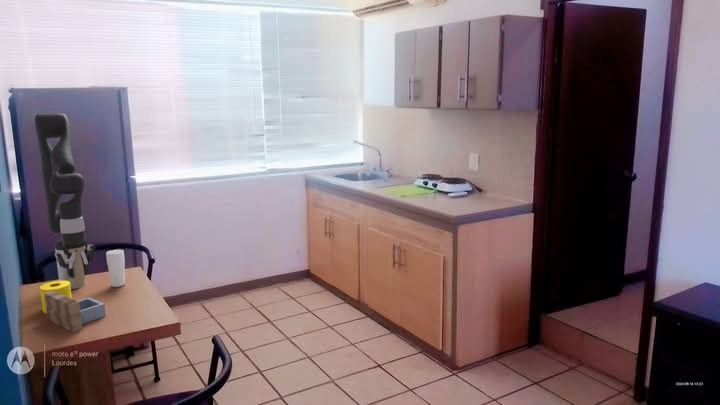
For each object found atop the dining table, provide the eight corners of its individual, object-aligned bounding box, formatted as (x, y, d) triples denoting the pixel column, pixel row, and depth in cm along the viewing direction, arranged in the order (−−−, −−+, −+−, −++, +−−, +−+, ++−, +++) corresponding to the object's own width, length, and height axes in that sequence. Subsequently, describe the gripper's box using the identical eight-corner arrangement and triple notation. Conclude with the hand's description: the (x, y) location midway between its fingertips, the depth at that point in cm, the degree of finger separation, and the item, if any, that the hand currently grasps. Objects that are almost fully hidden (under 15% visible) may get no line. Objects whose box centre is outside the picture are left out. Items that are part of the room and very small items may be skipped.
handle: (68, 286, 189) (63, 247, 186) (88, 283, 193) (83, 244, 190) (70, 290, 185) (66, 250, 182) (90, 286, 189) (86, 246, 186)
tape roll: (43, 315, 192) (39, 291, 191) (42, 306, 201) (39, 283, 199) (73, 310, 198) (70, 286, 196) (72, 301, 206) (69, 278, 204)
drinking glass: (106, 286, 222) (102, 252, 219) (119, 281, 228) (116, 248, 225) (116, 289, 219) (113, 254, 216) (130, 284, 225) (127, 250, 222)
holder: (60, 319, 190) (59, 306, 189) (90, 309, 198) (89, 297, 197) (75, 327, 184) (74, 313, 183) (105, 316, 192) (104, 303, 191)
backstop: (47, 319, 189) (44, 293, 187) (56, 316, 192) (53, 290, 190) (73, 332, 178) (70, 305, 176) (82, 329, 181) (79, 302, 179)
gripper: (87, 224, 193) (92, 268, 196) (46, 232, 181) (52, 279, 185) (98, 227, 188) (103, 272, 192) (56, 235, 177) (62, 283, 180)
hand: (78, 275), depth 188 cm, fingers closed on handle, 4 cm apart
